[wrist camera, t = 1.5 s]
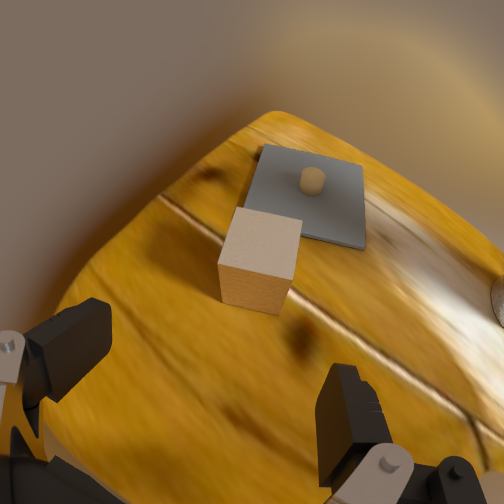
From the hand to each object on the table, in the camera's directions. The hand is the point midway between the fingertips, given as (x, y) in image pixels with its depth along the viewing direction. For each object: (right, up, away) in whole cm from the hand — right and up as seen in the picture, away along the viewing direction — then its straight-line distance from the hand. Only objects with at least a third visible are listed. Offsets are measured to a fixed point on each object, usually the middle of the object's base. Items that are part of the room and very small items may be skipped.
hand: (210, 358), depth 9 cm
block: (+2, 0, +22) cm, 22 cm away
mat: (+9, +12, +30) cm, 33 cm away
